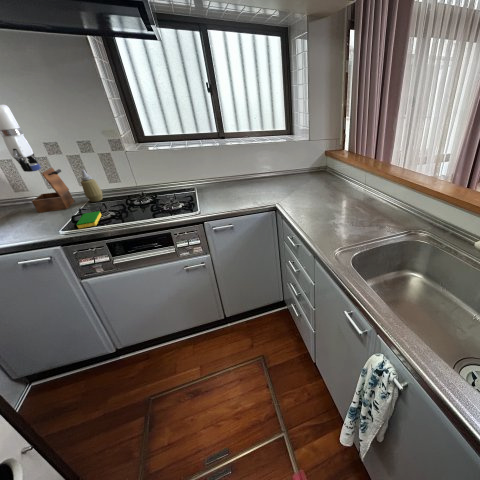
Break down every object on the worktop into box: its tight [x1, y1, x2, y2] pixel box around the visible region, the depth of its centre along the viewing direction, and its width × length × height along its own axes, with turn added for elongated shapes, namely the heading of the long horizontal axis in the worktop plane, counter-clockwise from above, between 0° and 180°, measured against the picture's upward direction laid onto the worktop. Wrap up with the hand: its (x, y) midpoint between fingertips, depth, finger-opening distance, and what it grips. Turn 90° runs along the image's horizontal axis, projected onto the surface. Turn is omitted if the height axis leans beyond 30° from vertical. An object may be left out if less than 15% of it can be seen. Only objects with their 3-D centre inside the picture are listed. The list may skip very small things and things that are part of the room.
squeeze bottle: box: [80, 169, 103, 203], centre depth 154 cm, size 8×8×18 cm
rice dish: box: [20, 162, 42, 173], centre depth 138 cm, size 7×7×3 cm
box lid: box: [41, 167, 70, 197], centre depth 145 cm, size 13×12×5 cm
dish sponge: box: [75, 210, 102, 229], centre depth 132 cm, size 7×14×2 cm, turn 26°
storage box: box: [31, 190, 75, 214], centre depth 149 cm, size 13×12×7 cm
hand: (32, 169), depth 138 cm, fingers closed on rice dish, 7 cm apart
